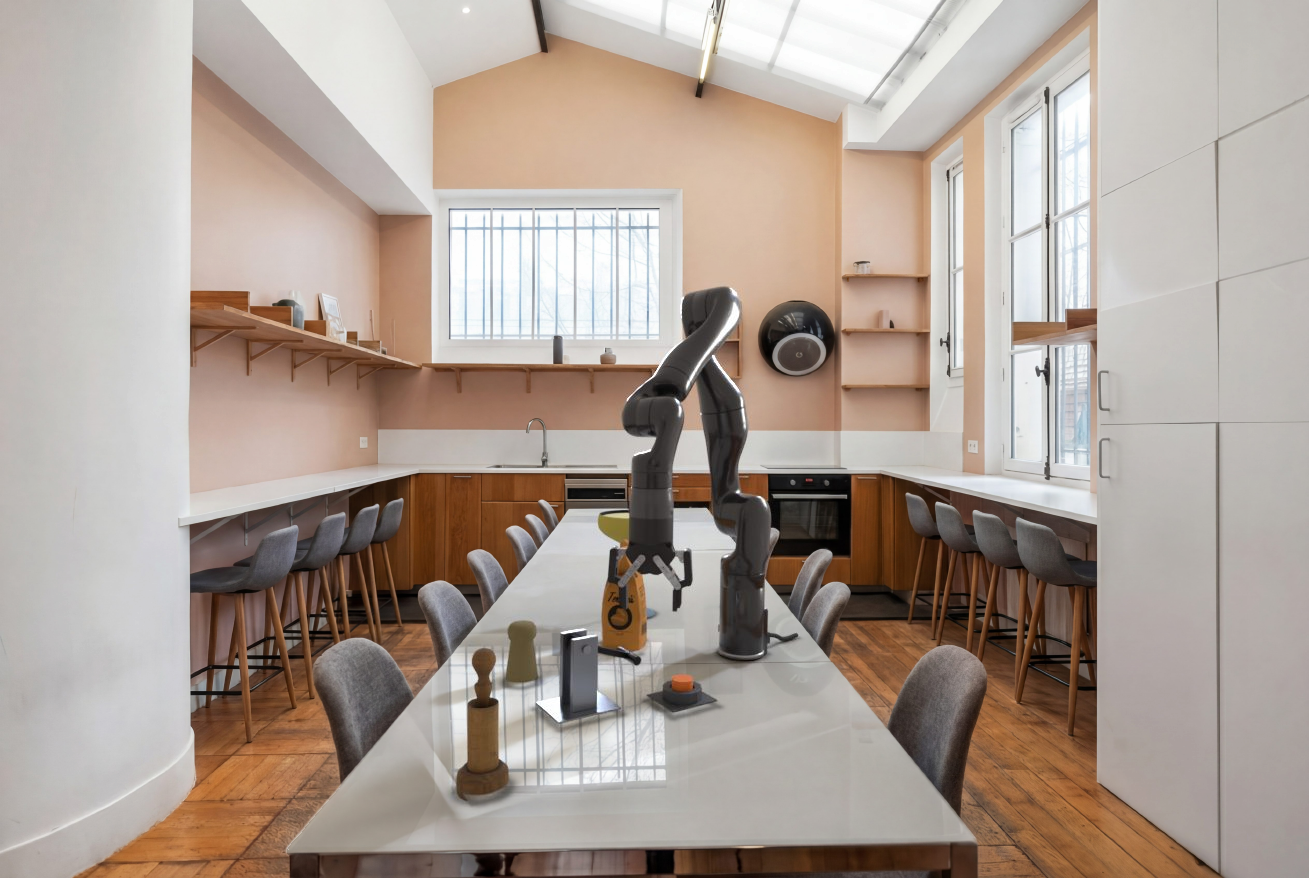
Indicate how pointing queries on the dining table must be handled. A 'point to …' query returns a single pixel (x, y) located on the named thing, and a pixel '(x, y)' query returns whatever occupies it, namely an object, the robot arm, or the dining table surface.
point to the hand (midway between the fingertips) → (649, 609)
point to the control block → (681, 697)
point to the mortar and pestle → (482, 735)
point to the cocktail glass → (617, 530)
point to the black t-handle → (614, 652)
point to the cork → (521, 652)
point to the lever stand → (578, 680)
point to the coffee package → (624, 611)
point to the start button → (682, 682)
